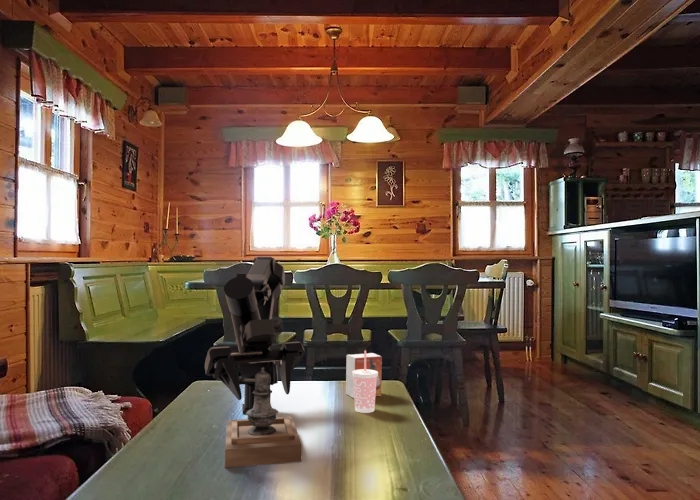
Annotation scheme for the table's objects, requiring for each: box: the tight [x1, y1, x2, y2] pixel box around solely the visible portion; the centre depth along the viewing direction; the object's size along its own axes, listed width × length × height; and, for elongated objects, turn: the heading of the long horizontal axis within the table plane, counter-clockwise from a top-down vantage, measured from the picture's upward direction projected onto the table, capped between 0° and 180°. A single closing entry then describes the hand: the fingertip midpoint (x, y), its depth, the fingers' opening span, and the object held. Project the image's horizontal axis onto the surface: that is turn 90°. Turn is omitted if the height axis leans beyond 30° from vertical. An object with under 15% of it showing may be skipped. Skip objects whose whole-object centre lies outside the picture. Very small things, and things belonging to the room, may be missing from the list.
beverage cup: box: [352, 350, 378, 414], centre depth 120 cm, size 6×6×14 cm
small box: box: [345, 352, 383, 400], centre depth 133 cm, size 8×6×10 cm
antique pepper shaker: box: [245, 367, 279, 436], centre depth 95 cm, size 6×6×12 cm
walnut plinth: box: [224, 416, 303, 469], centre depth 95 cm, size 16×13×4 cm
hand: (264, 396), depth 94 cm, fingers open, 9 cm apart
